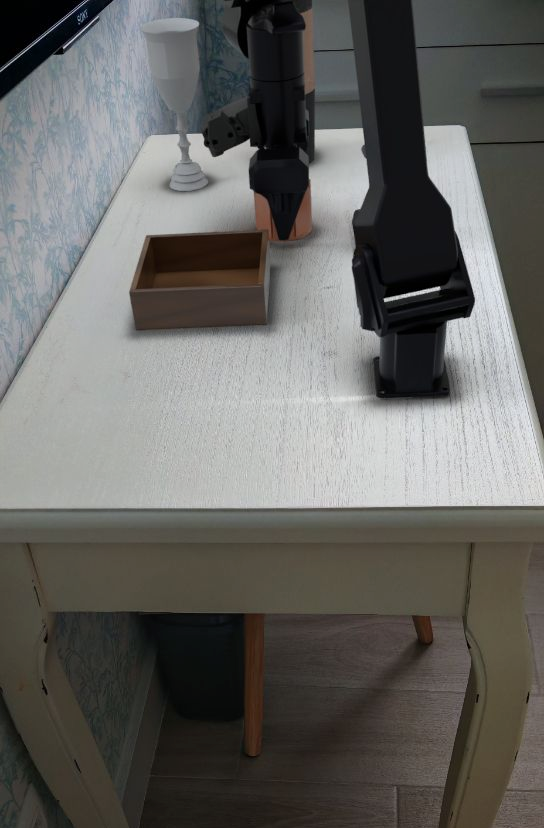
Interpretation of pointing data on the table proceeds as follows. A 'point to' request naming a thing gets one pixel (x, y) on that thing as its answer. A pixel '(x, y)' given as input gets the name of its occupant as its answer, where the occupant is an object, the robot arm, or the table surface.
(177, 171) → the chalice
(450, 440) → the table surface
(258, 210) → the bucket
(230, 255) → the wooden box
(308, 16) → the travel mug
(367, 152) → the robot arm
